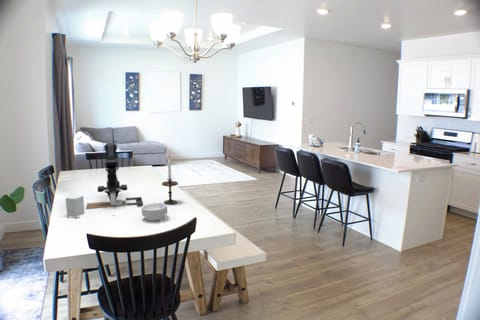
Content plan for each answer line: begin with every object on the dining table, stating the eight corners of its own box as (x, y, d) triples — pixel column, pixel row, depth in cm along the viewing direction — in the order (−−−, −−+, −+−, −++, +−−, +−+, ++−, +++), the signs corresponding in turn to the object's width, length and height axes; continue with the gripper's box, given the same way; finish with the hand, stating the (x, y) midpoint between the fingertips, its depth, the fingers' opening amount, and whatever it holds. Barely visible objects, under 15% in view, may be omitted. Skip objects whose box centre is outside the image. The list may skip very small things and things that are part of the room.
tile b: (115, 204, 246) (115, 201, 246) (121, 203, 247) (121, 201, 247) (115, 205, 242) (115, 203, 242) (121, 205, 244) (121, 203, 243)
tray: (126, 202, 256) (125, 198, 256) (141, 201, 260) (141, 196, 259) (126, 207, 243) (126, 203, 243) (143, 206, 246) (142, 202, 246)
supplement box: (85, 215, 227) (83, 195, 225) (76, 219, 220) (74, 198, 218) (75, 214, 230) (74, 194, 227) (66, 217, 223) (65, 197, 221)
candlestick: (176, 200, 262) (175, 152, 256) (179, 204, 252) (178, 154, 247) (161, 201, 258) (159, 153, 253) (164, 205, 248) (162, 155, 243)
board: (87, 205, 248) (87, 203, 248) (125, 202, 256) (125, 200, 256) (85, 211, 235) (85, 209, 235) (126, 207, 243) (126, 205, 243)
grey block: (111, 202, 251) (110, 189, 250) (115, 201, 252) (115, 188, 250) (110, 205, 241) (110, 192, 240) (115, 205, 242) (115, 191, 241)
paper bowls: (137, 218, 222) (136, 205, 221) (158, 213, 233) (158, 201, 231) (150, 224, 211) (150, 211, 210) (172, 218, 222) (172, 206, 221)
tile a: (115, 202, 251) (115, 199, 251) (121, 201, 252) (121, 199, 252) (115, 203, 247) (115, 201, 247) (121, 203, 249) (121, 200, 248)
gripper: (96, 181, 233) (97, 204, 236) (126, 179, 239) (127, 202, 242) (97, 177, 244) (98, 200, 246) (126, 176, 249) (127, 198, 252)
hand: (113, 200), depth 246 cm, fingers closed on grey block, 3 cm apart
